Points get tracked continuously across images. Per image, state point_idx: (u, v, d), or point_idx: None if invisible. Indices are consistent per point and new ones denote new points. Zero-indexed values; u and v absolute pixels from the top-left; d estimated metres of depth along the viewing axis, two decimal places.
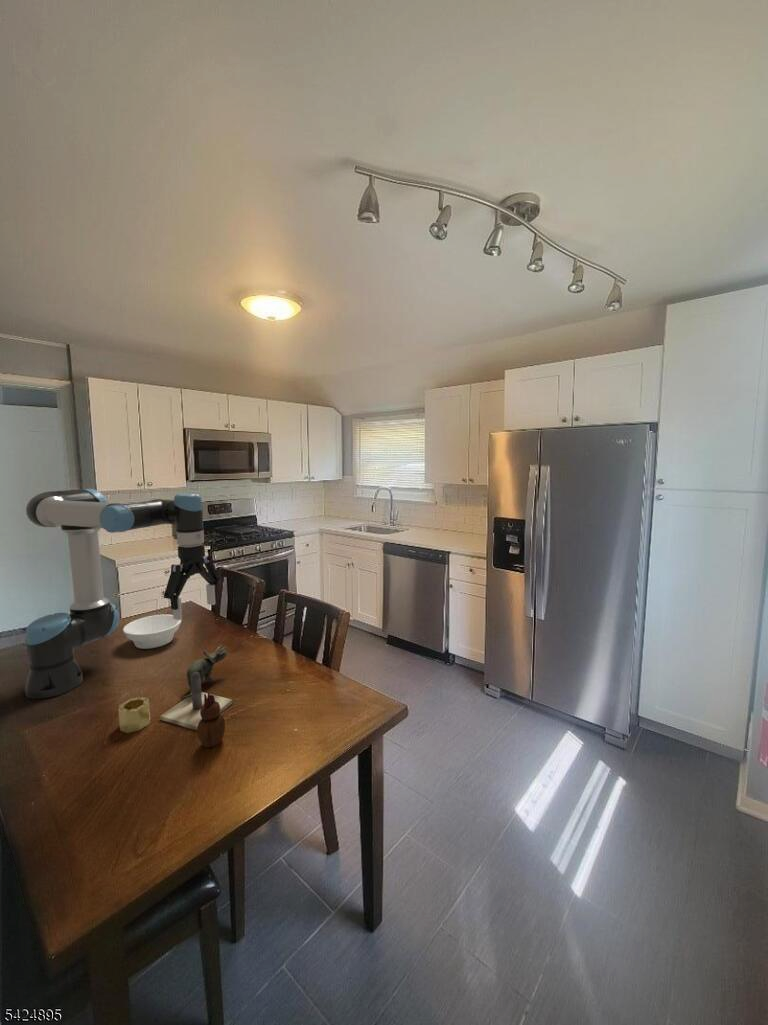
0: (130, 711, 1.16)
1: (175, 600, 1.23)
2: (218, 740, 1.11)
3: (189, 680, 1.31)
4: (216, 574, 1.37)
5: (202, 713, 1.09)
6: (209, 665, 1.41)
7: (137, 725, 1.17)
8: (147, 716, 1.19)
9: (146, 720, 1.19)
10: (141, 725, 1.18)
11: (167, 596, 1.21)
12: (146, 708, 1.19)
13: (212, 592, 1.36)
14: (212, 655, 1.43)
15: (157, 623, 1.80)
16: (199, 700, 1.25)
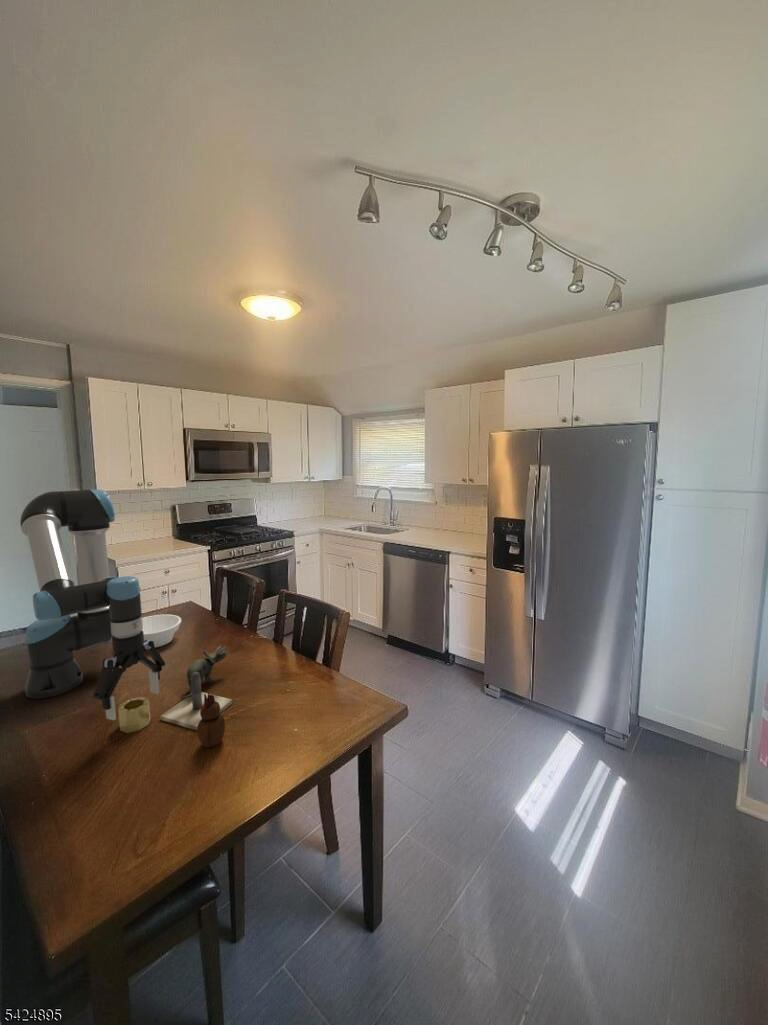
0: (130, 711, 1.16)
1: (107, 699, 1.11)
2: (218, 740, 1.11)
3: (189, 680, 1.31)
4: (160, 659, 1.25)
5: (202, 713, 1.09)
6: (209, 665, 1.41)
7: (137, 725, 1.17)
8: (147, 716, 1.19)
9: (146, 720, 1.19)
10: (141, 725, 1.18)
11: (97, 696, 1.08)
12: (146, 708, 1.19)
13: (155, 680, 1.24)
14: (212, 655, 1.43)
15: (157, 623, 1.80)
16: (199, 700, 1.25)
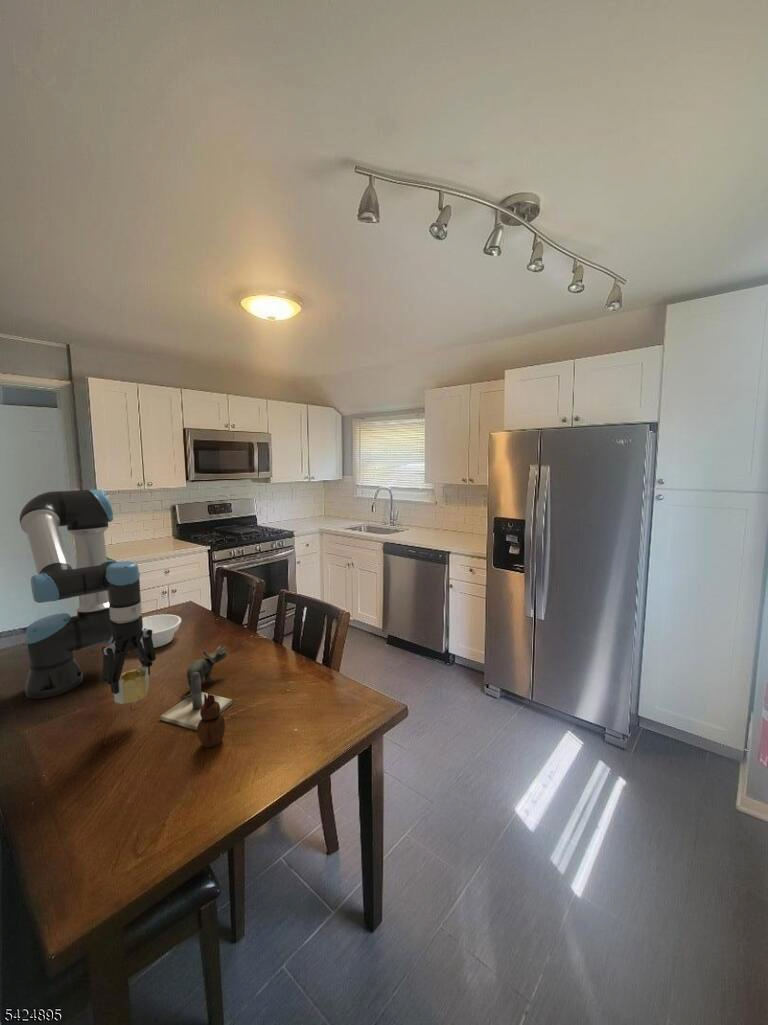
0: (127, 682, 1.15)
1: (116, 684, 1.13)
2: (218, 740, 1.11)
3: (189, 680, 1.31)
4: (152, 652, 1.23)
5: (202, 713, 1.09)
6: (209, 665, 1.41)
7: (134, 696, 1.16)
8: (144, 688, 1.19)
9: (143, 692, 1.18)
10: (138, 696, 1.17)
11: (106, 682, 1.11)
12: (143, 680, 1.18)
13: None
14: (212, 655, 1.43)
15: (157, 623, 1.80)
16: (199, 700, 1.25)
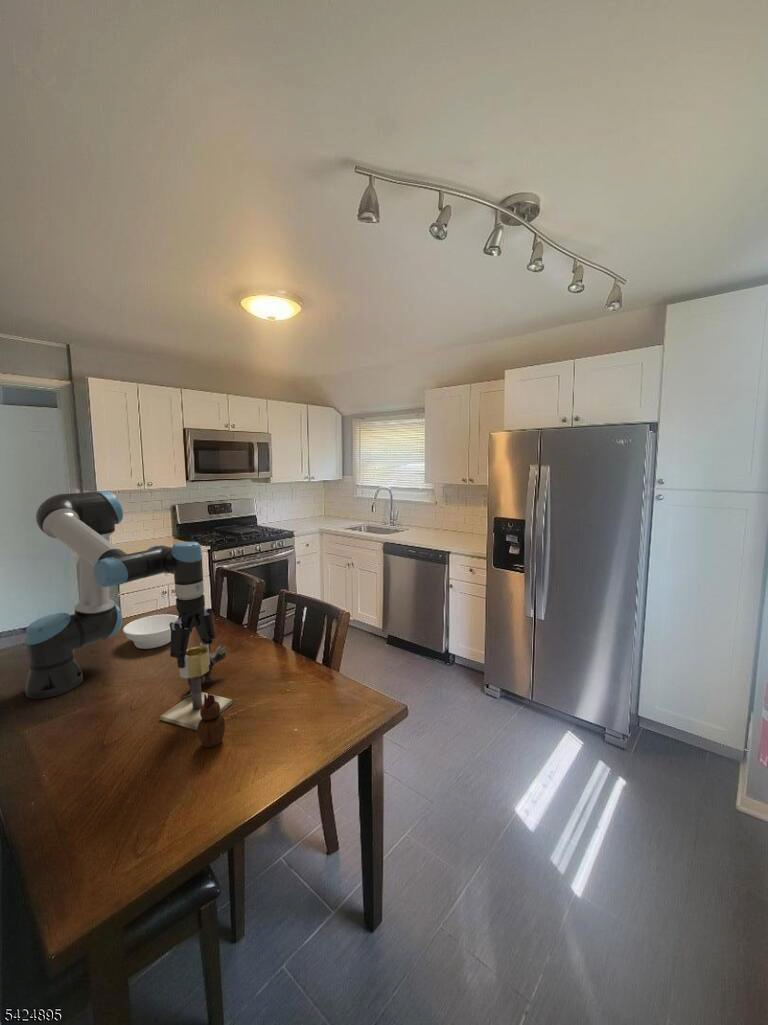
0: (192, 657, 1.20)
1: (182, 658, 1.18)
2: (218, 740, 1.11)
3: (189, 680, 1.31)
4: (212, 631, 1.28)
5: (202, 713, 1.09)
6: (209, 665, 1.41)
7: (199, 671, 1.21)
8: (207, 663, 1.24)
9: (206, 667, 1.23)
10: (202, 671, 1.22)
11: (174, 656, 1.16)
12: (206, 655, 1.23)
13: None
14: (212, 655, 1.43)
15: (157, 623, 1.80)
16: (199, 700, 1.25)
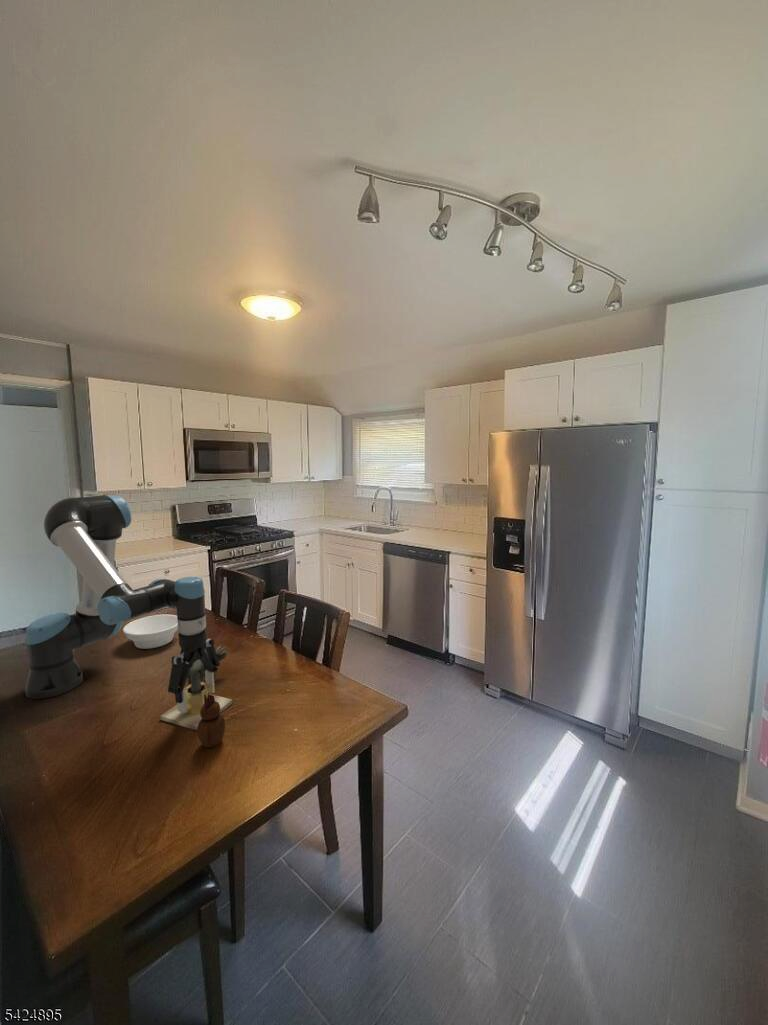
0: (194, 695, 1.22)
1: (180, 693, 1.18)
2: (218, 740, 1.11)
3: (189, 680, 1.31)
4: (216, 659, 1.31)
5: (202, 713, 1.09)
6: None
7: (200, 708, 1.23)
8: None
9: None
10: None
11: (171, 691, 1.16)
12: (208, 692, 1.25)
13: (211, 680, 1.29)
14: None
15: (157, 623, 1.80)
16: None
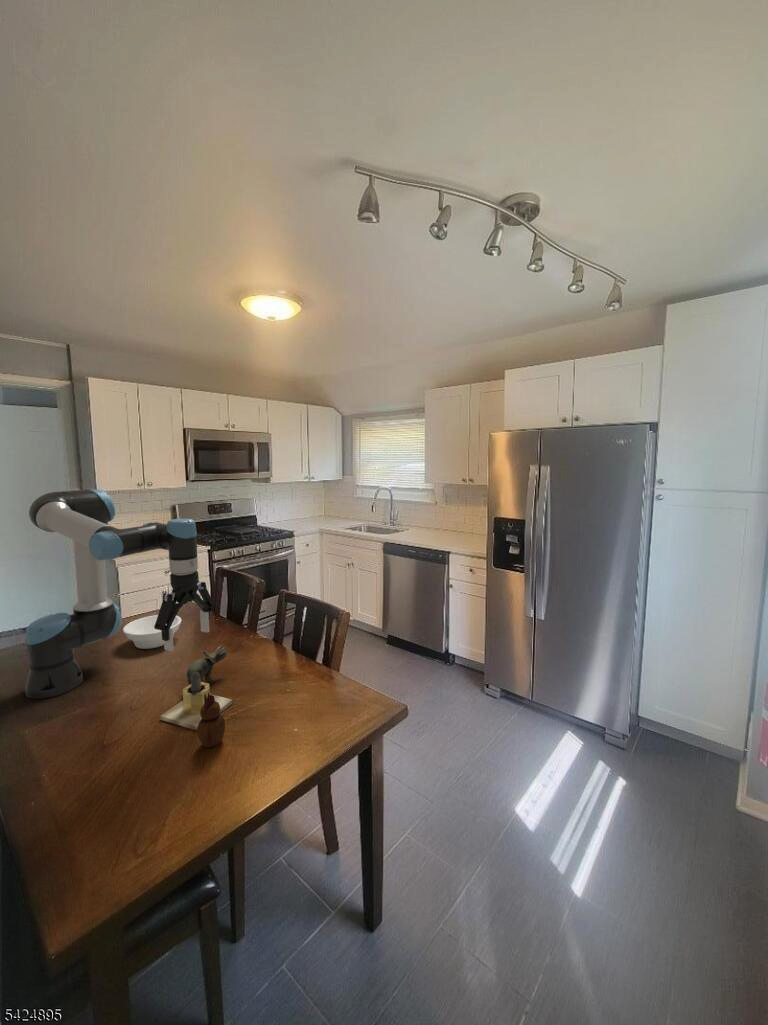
0: (194, 695, 1.22)
1: (166, 631, 1.18)
2: (218, 740, 1.11)
3: (189, 680, 1.31)
4: (210, 600, 1.32)
5: (202, 713, 1.09)
6: (209, 665, 1.41)
7: (200, 708, 1.23)
8: None
9: None
10: None
11: (158, 627, 1.15)
12: (208, 692, 1.25)
13: (206, 619, 1.31)
14: (212, 655, 1.43)
15: None
16: None
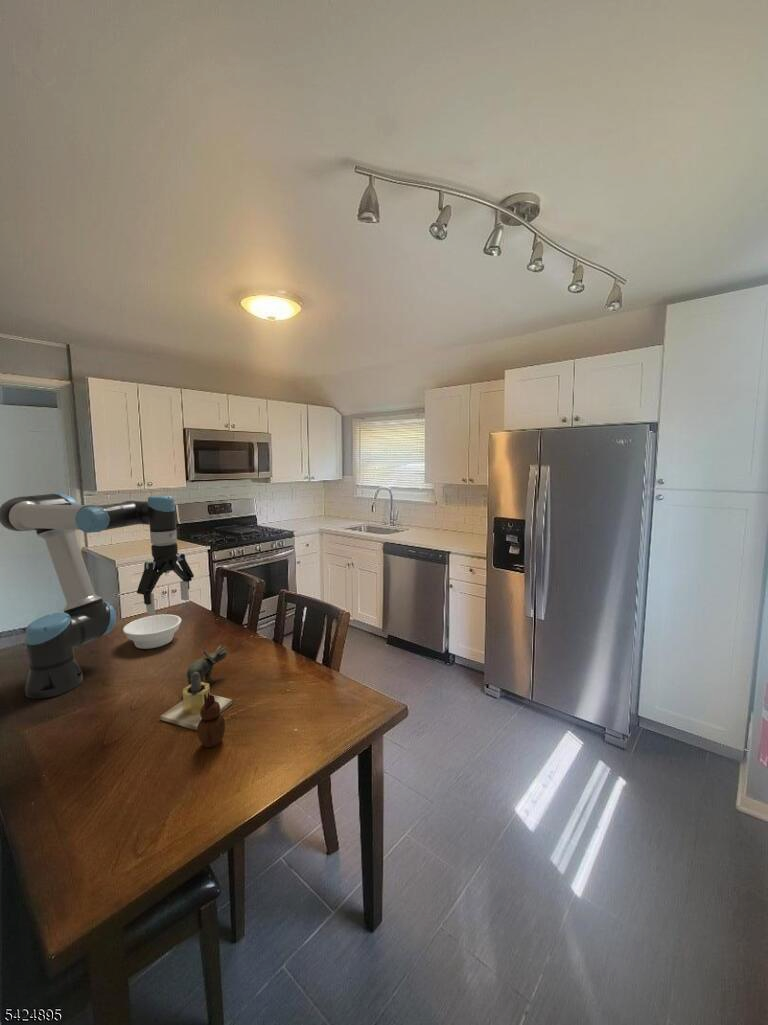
0: (194, 695, 1.22)
1: (148, 595, 1.30)
2: (218, 740, 1.11)
3: (189, 680, 1.31)
4: (189, 571, 1.45)
5: (202, 713, 1.09)
6: (209, 665, 1.41)
7: (200, 708, 1.23)
8: None
9: None
10: None
11: (140, 592, 1.28)
12: (208, 692, 1.25)
13: (185, 588, 1.44)
14: (212, 655, 1.43)
15: (157, 623, 1.80)
16: None
